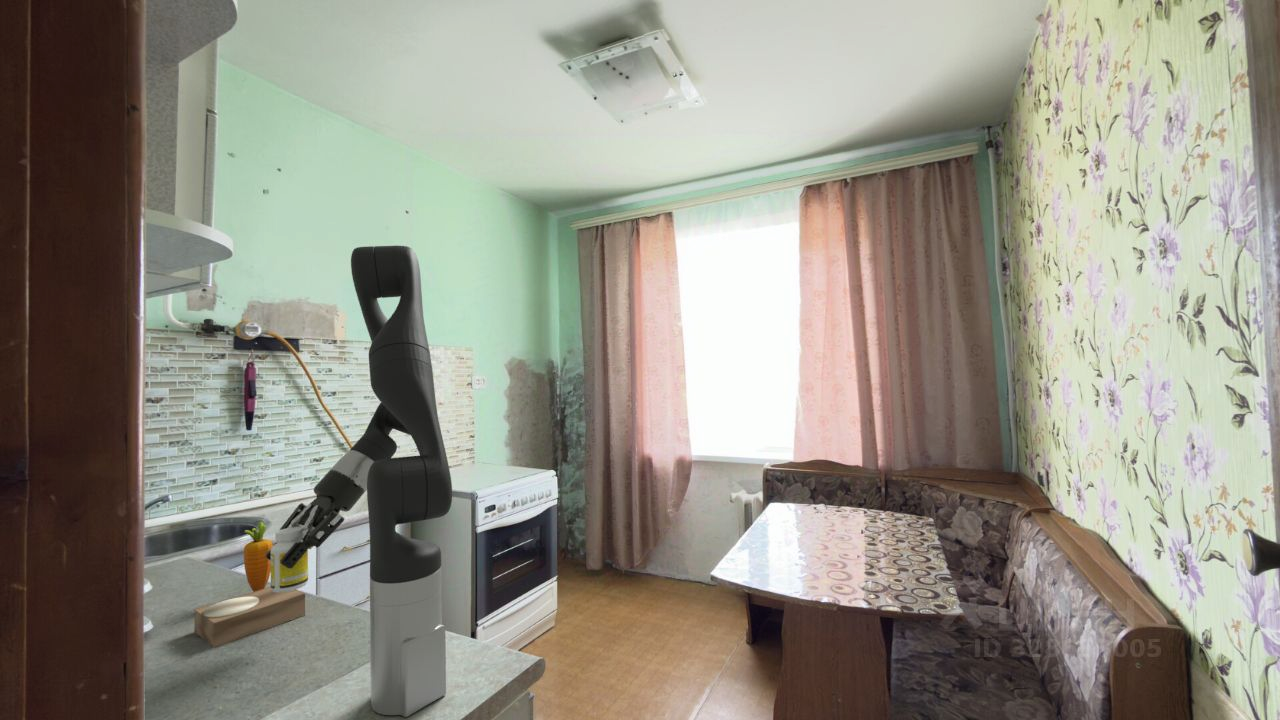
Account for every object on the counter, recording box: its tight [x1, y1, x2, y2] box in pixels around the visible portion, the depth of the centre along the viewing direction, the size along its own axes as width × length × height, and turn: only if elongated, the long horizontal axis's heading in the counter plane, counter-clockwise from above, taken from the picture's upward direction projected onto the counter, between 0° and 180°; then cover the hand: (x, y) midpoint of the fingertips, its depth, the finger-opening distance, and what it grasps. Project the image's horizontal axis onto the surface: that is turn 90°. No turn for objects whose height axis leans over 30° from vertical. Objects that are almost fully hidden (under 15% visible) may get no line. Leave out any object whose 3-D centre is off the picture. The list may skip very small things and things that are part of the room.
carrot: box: [243, 521, 274, 592], centre depth 110 cm, size 5×5×15 cm
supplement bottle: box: [270, 527, 309, 592], centre depth 91 cm, size 5×5×10 cm
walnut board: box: [193, 586, 306, 648], centre depth 97 cm, size 10×14×4 cm
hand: (277, 562), depth 89 cm, fingers closed on supplement bottle, 5 cm apart
